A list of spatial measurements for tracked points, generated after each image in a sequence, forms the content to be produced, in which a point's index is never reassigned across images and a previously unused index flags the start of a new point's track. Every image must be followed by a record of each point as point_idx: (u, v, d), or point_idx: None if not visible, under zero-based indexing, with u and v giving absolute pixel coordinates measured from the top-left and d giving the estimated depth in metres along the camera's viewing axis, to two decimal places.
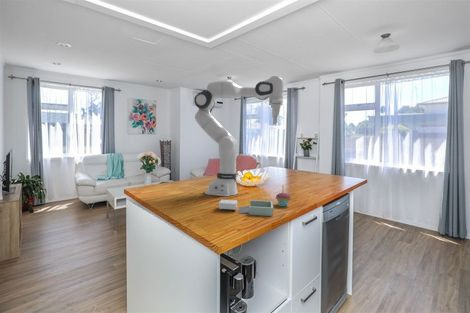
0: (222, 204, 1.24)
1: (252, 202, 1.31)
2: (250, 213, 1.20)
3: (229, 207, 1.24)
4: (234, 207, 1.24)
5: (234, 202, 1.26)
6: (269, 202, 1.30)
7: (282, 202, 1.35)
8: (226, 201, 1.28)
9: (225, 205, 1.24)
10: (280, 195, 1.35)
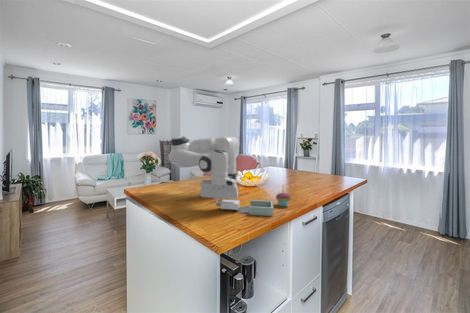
0: (224, 204, 1.24)
1: (252, 202, 1.31)
2: (250, 213, 1.20)
3: (231, 207, 1.24)
4: (236, 207, 1.23)
5: (236, 202, 1.26)
6: (269, 202, 1.30)
7: (282, 202, 1.35)
8: (228, 201, 1.27)
9: (227, 205, 1.24)
10: (280, 195, 1.35)
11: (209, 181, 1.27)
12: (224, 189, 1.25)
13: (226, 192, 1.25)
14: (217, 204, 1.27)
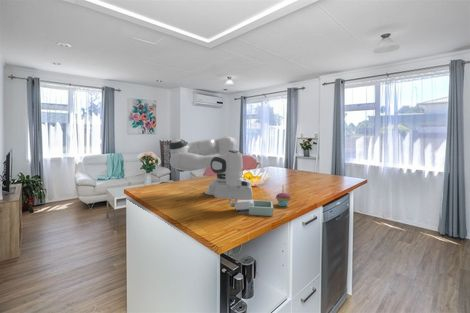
0: (239, 204, 1.23)
1: None
2: (250, 213, 1.20)
3: (246, 207, 1.23)
4: None
5: (250, 201, 1.25)
6: (269, 202, 1.30)
7: (282, 202, 1.35)
8: (242, 201, 1.26)
9: (242, 205, 1.23)
10: (280, 195, 1.35)
11: (223, 182, 1.26)
12: (239, 190, 1.24)
13: (241, 193, 1.24)
14: (231, 205, 1.26)
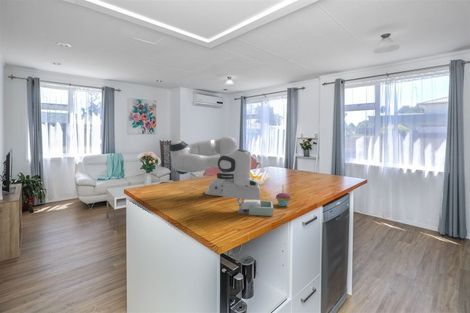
0: (245, 204, 1.22)
1: None
2: (250, 213, 1.20)
3: None
4: None
5: (257, 202, 1.24)
6: (269, 202, 1.30)
7: (282, 202, 1.35)
8: (249, 201, 1.26)
9: (249, 205, 1.22)
10: (280, 195, 1.35)
11: (231, 181, 1.25)
12: (247, 189, 1.24)
13: (249, 192, 1.23)
14: (240, 204, 1.25)
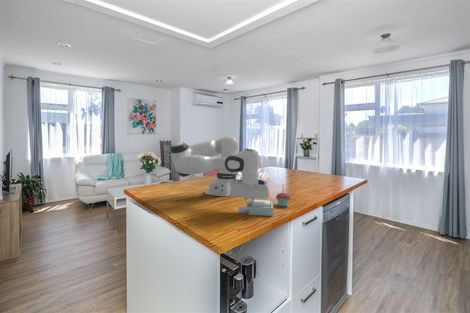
0: (256, 204, 1.22)
1: None
2: (250, 213, 1.20)
3: None
4: None
5: (268, 202, 1.23)
6: None
7: (282, 202, 1.35)
8: (259, 201, 1.25)
9: (259, 205, 1.22)
10: (280, 195, 1.35)
11: (239, 181, 1.25)
12: (255, 189, 1.23)
13: (257, 192, 1.23)
14: (248, 204, 1.25)
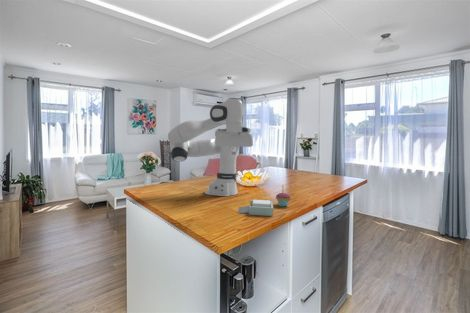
0: (256, 204, 1.22)
1: (252, 202, 1.31)
2: (250, 213, 1.20)
3: None
4: None
5: (268, 202, 1.23)
6: None
7: (282, 202, 1.35)
8: (259, 201, 1.25)
9: (259, 205, 1.22)
10: (280, 195, 1.35)
11: (224, 130, 1.27)
12: (239, 137, 1.25)
13: (241, 140, 1.25)
14: (232, 153, 1.27)
